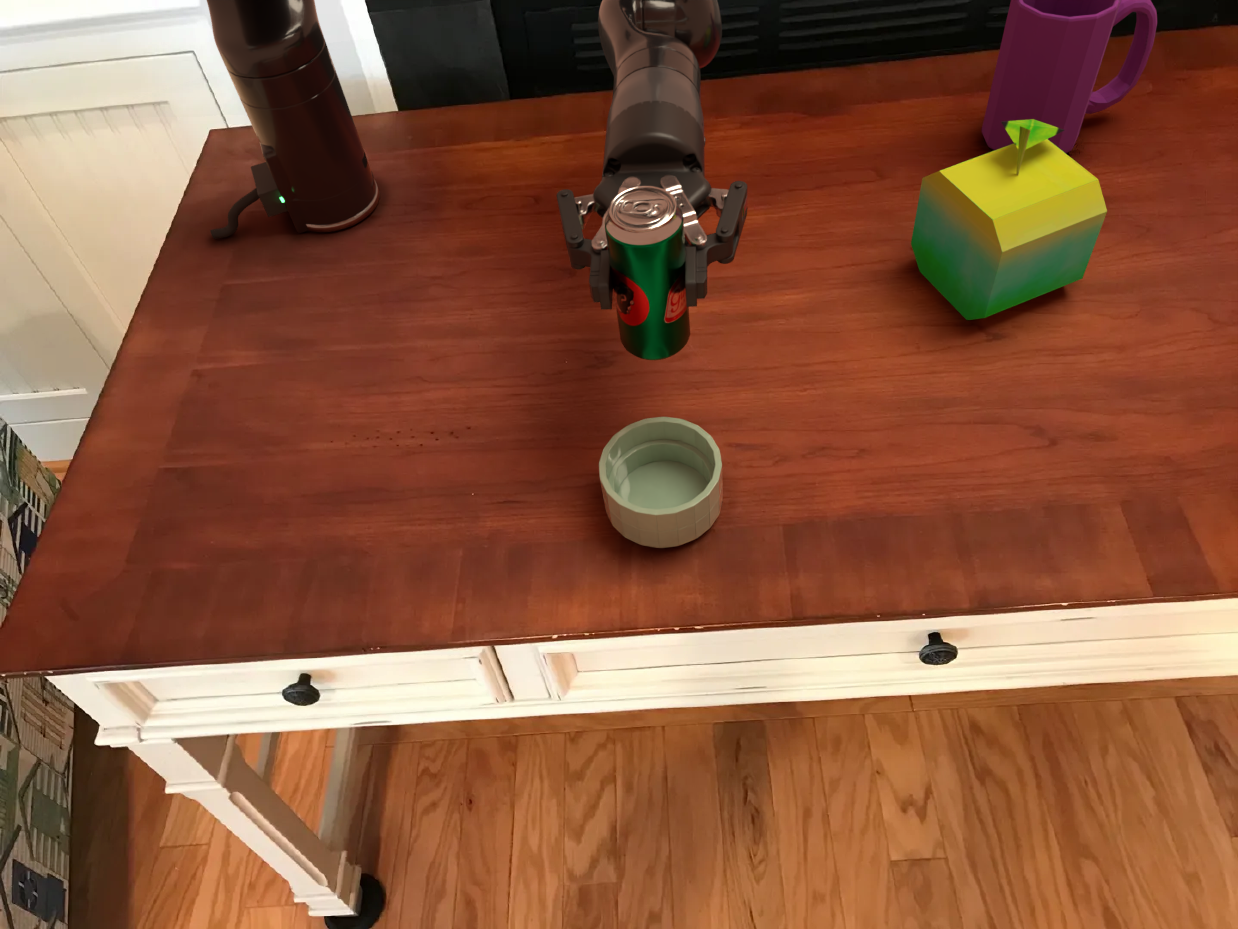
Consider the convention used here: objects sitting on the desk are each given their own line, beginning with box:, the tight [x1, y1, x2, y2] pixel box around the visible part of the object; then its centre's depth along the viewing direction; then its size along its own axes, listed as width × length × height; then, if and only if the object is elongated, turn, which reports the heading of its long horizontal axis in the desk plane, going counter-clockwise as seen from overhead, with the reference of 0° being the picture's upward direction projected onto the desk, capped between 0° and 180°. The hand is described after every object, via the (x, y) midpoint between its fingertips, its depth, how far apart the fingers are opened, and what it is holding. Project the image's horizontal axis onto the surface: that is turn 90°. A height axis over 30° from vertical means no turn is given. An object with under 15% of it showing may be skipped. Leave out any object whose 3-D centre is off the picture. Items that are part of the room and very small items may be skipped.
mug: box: [981, 0, 1158, 154], centre depth 93 cm, size 9×16×15 cm, turn 106°
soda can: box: [605, 186, 691, 361], centre depth 67 cm, size 5×5×12 cm
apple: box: [910, 119, 1108, 321], centre depth 82 cm, size 11×10×15 cm
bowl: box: [598, 416, 724, 549], centre depth 74 cm, size 9×9×5 cm
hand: (648, 298), depth 65 cm, fingers closed on soda can, 5 cm apart
